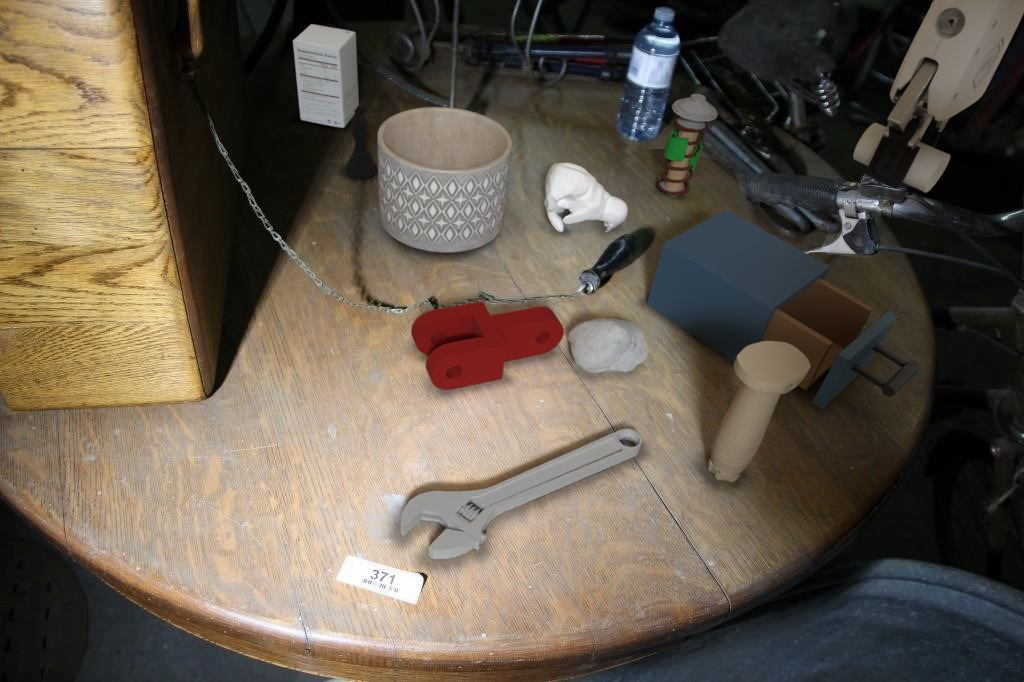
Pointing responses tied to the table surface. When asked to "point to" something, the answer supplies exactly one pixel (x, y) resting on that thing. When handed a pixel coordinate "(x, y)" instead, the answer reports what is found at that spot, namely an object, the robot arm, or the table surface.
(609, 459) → the adjustable wrench
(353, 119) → the chess piece
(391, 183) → the planter
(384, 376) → the table surface
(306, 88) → the white packaging box
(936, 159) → the white cylinder
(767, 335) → the drawer
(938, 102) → the robot arm
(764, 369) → the handle
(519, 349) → the mechanical linkage
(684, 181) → the shock absorber
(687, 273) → the cabinet
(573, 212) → the white figurine
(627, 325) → the pebble
